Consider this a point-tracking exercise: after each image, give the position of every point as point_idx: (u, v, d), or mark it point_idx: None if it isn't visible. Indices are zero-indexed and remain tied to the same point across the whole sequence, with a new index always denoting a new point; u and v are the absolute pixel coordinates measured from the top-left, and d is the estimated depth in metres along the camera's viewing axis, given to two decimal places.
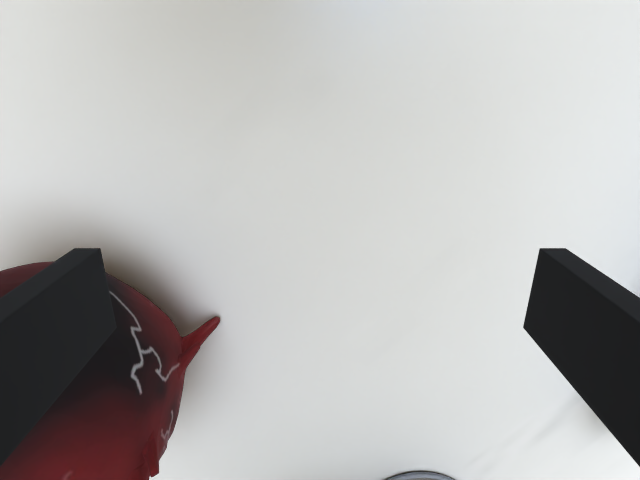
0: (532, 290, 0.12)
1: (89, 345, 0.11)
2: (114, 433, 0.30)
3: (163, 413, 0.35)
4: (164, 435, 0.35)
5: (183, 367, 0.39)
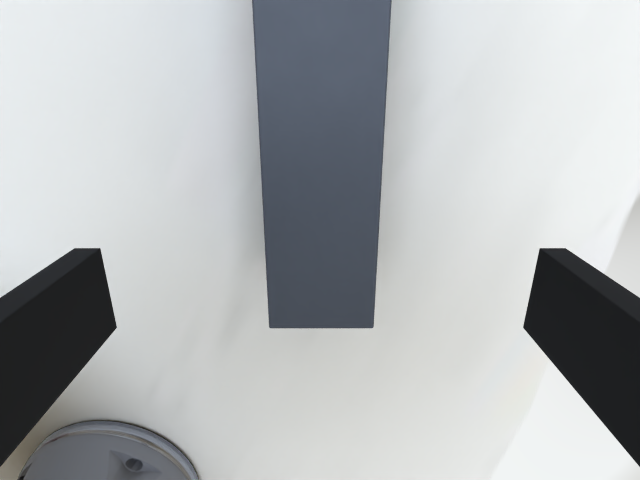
0: (532, 290, 0.12)
1: (89, 345, 0.11)
2: None
3: None
4: None
5: None
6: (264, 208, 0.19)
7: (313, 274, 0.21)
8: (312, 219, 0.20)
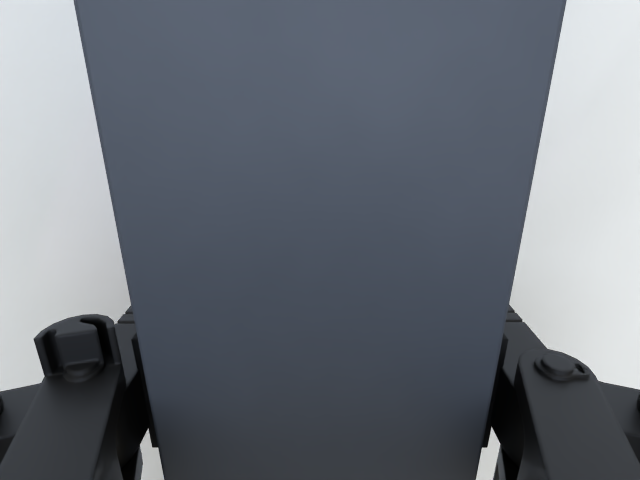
0: None
1: None
2: None
3: None
4: None
5: None
6: (158, 435, 0.07)
7: None
8: (294, 459, 0.07)
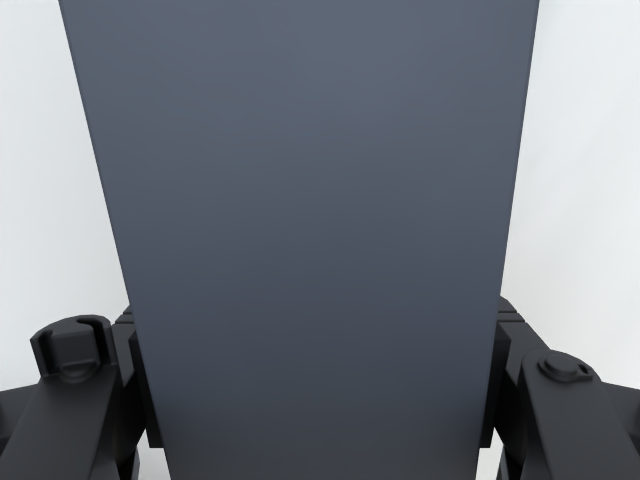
0: None
1: None
2: None
3: None
4: None
5: None
6: (162, 432, 0.07)
7: None
8: (296, 452, 0.07)
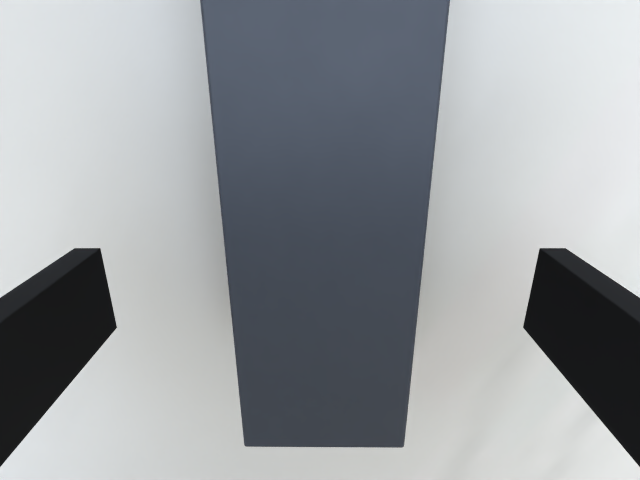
0: (532, 289, 0.12)
1: (89, 346, 0.11)
2: None
3: None
4: None
5: None
6: (229, 276, 0.12)
7: (310, 374, 0.13)
8: (308, 293, 0.12)
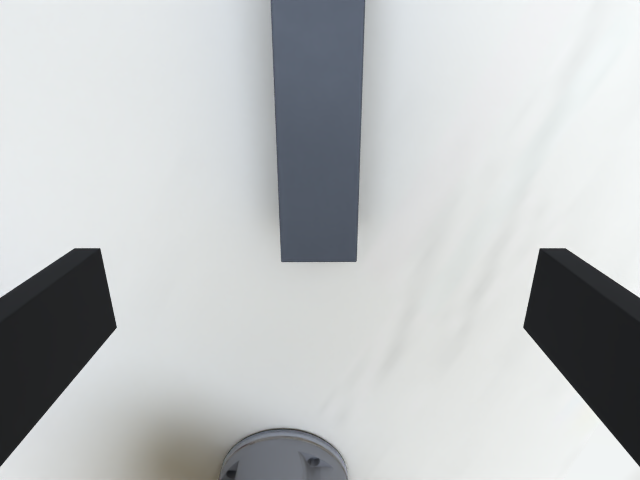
0: (532, 290, 0.12)
1: (89, 346, 0.11)
2: None
3: None
4: None
5: None
6: (278, 172, 0.28)
7: (312, 221, 0.29)
8: (311, 180, 0.28)
